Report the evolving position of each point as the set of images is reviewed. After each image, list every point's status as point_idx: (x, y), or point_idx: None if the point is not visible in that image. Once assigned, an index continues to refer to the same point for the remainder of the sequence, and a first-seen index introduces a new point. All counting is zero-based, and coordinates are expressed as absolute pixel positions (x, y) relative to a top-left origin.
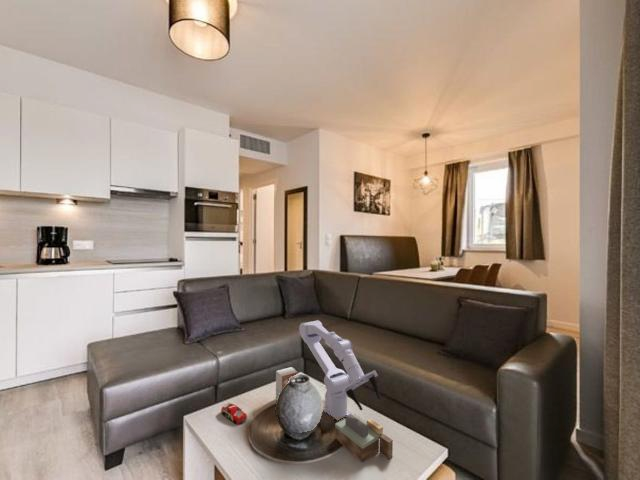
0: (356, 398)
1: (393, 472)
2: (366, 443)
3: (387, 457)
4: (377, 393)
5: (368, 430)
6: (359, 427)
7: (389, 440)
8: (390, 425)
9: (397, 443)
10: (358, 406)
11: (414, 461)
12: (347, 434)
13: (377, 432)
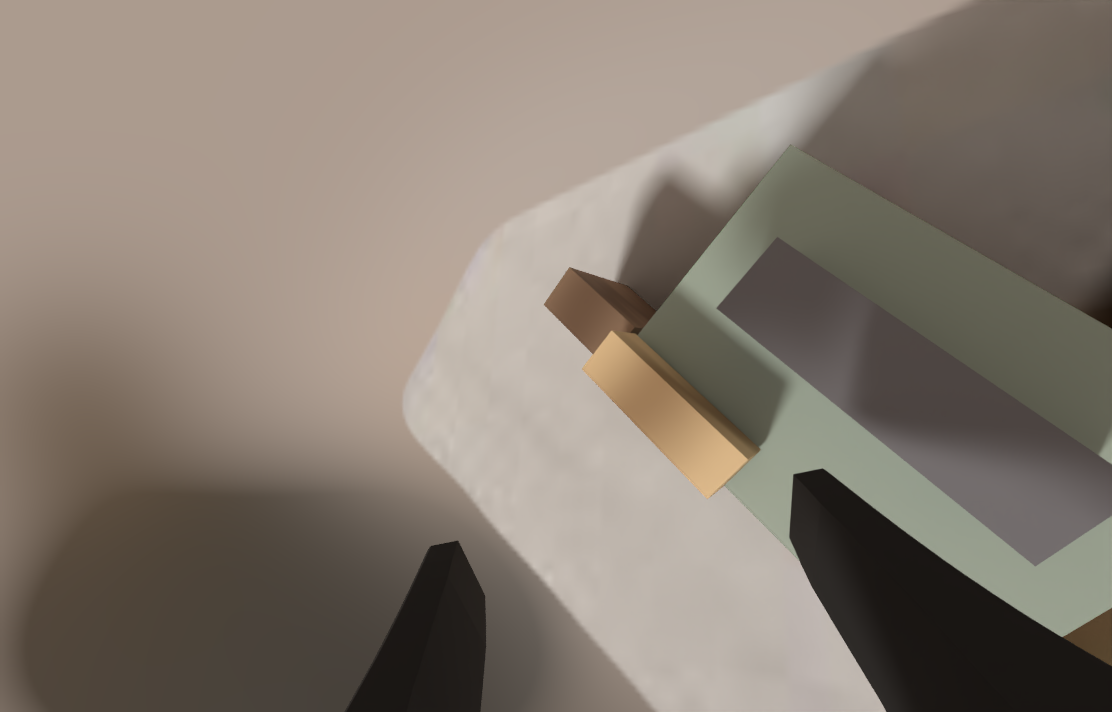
0: (942, 695)
1: (603, 189)
2: (752, 194)
3: (630, 290)
4: (408, 616)
5: (739, 386)
6: (833, 276)
7: (564, 293)
8: (606, 633)
9: (571, 442)
10: (865, 502)
11: (502, 311)
12: (1016, 279)
13: (646, 346)
